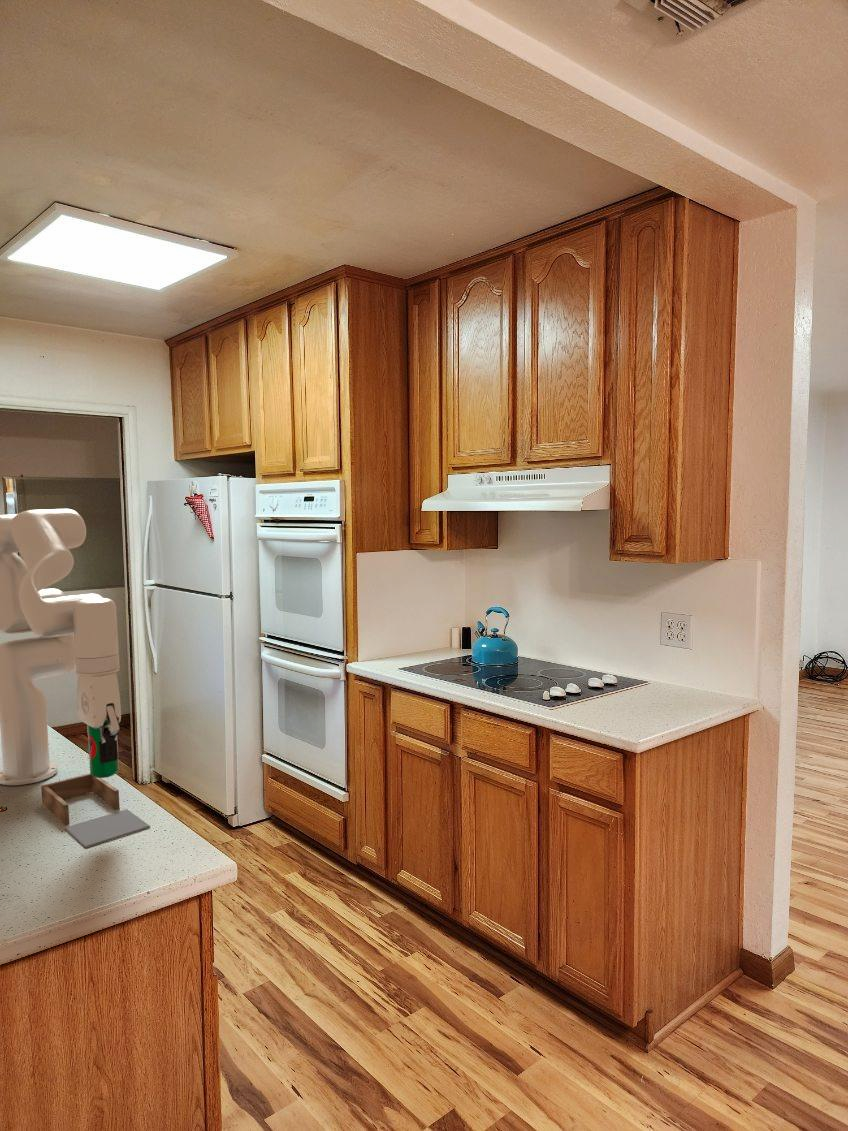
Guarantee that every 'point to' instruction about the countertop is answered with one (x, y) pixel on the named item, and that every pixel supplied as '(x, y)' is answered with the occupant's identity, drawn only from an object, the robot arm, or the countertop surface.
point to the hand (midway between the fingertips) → (103, 757)
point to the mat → (106, 828)
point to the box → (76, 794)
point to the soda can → (95, 765)
